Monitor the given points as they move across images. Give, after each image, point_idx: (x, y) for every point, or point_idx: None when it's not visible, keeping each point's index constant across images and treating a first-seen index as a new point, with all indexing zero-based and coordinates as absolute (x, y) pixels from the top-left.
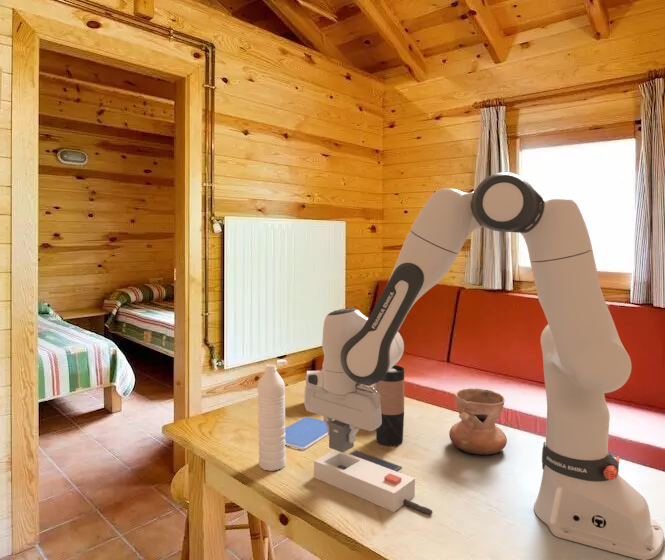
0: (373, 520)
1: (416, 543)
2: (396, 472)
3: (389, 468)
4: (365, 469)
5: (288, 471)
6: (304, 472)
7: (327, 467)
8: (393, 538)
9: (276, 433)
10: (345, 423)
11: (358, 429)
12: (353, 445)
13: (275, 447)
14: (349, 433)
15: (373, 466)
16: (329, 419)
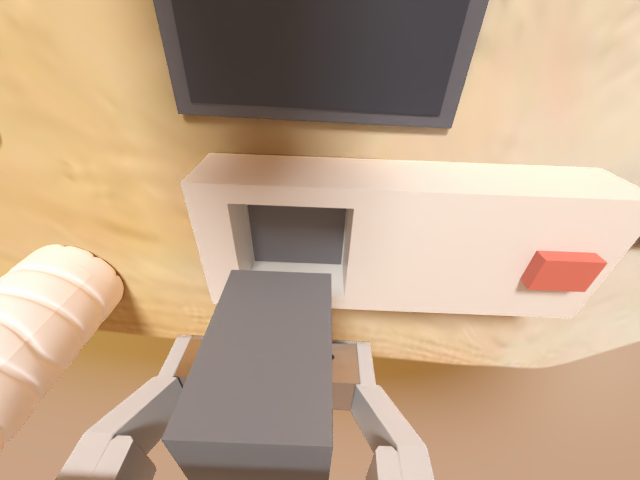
0: (488, 318)
1: (608, 330)
2: (564, 205)
3: (443, 25)
4: (416, 256)
5: (147, 275)
6: (183, 256)
7: None
8: (551, 339)
9: (28, 414)
10: (301, 477)
11: (411, 433)
12: (330, 280)
13: (72, 358)
14: (335, 394)
15: (438, 219)
16: (147, 473)
